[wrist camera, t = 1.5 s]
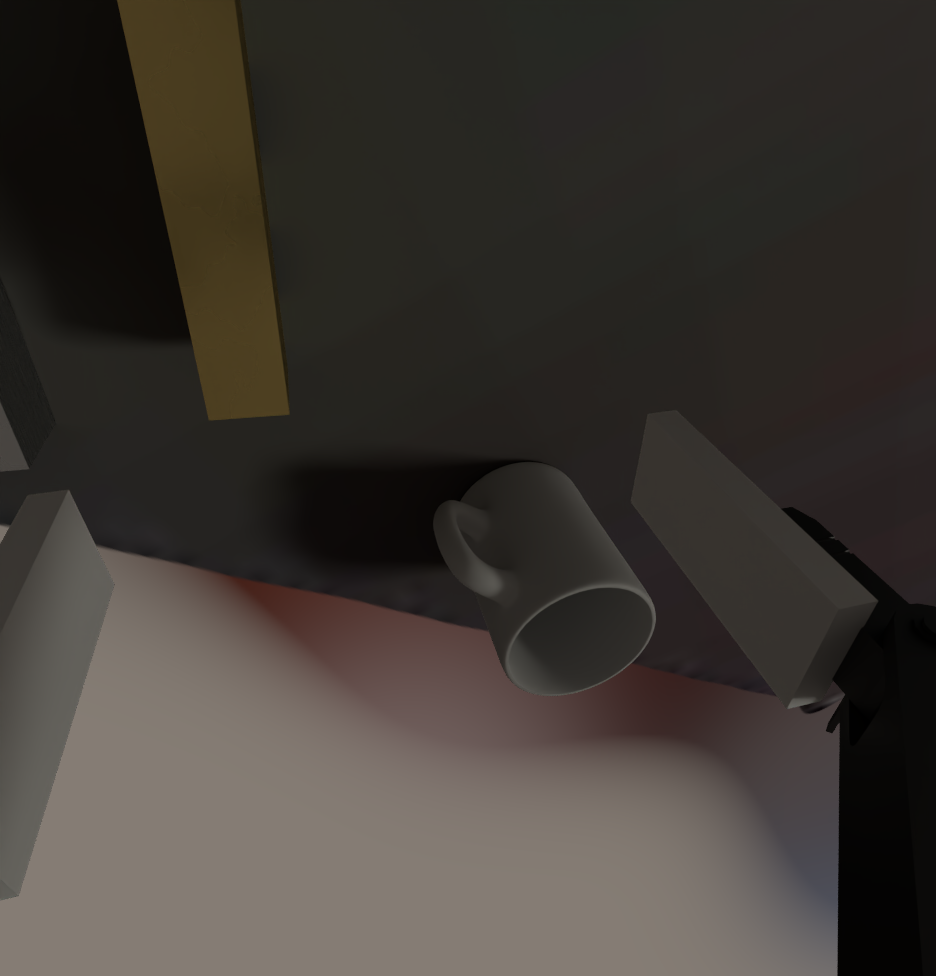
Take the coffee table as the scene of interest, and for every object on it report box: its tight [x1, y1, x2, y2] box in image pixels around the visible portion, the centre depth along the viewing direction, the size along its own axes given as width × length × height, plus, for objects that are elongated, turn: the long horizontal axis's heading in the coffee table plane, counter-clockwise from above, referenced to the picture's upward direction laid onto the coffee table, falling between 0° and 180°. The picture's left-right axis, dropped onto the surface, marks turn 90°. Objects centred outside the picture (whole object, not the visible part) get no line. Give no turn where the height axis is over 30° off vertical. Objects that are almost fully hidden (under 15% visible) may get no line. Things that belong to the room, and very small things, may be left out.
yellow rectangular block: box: [117, 0, 290, 420], centre depth 23 cm, size 14×3×7 cm, turn 177°
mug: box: [433, 462, 656, 696], centre depth 35 cm, size 12×8×11 cm
